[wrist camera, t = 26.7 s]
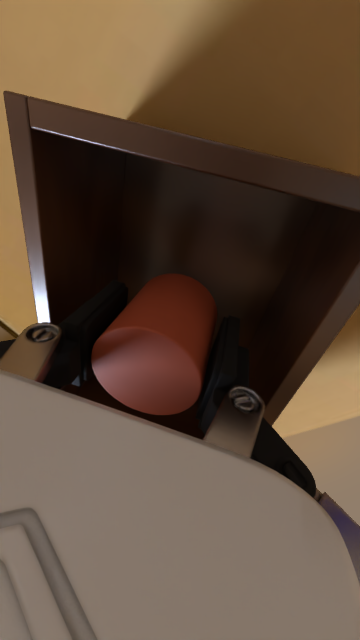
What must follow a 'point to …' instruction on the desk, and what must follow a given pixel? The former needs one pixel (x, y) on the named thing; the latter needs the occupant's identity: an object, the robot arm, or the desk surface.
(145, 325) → the cylinder piece
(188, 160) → the box
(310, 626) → the robot arm
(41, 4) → the desk surface
